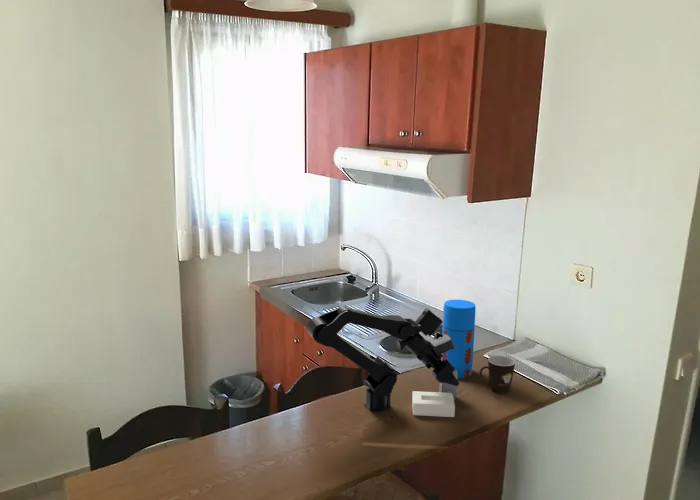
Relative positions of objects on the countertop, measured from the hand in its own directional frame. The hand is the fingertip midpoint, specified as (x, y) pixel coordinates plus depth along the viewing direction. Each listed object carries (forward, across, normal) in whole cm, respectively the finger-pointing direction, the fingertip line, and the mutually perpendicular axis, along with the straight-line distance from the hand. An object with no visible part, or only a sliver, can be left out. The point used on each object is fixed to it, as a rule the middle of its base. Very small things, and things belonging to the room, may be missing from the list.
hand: (452, 378), depth 175 cm
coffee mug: (+17, +5, -7) cm, 19 cm away
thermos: (+12, +20, -1) cm, 23 cm away
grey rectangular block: (+4, 0, +6) cm, 7 cm away
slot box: (-1, -6, +11) cm, 13 cm away
